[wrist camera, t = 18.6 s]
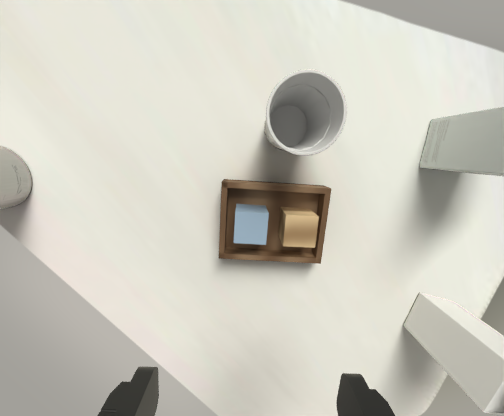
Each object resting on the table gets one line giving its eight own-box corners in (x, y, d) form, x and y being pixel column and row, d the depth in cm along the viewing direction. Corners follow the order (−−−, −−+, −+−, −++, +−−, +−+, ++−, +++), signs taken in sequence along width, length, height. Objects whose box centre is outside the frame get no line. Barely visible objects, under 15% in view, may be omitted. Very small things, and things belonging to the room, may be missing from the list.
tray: (221, 249, 39) (218, 258, 35) (223, 179, 36) (221, 181, 33) (314, 254, 39) (320, 263, 36) (323, 185, 37) (331, 188, 34)
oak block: (280, 206, 37) (286, 214, 32) (309, 208, 37) (318, 216, 32) (278, 234, 38) (283, 246, 33) (305, 235, 38) (314, 247, 33)
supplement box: (417, 168, 37) (504, 175, 24) (430, 118, 35) (530, 98, 23) (462, 173, 37) (570, 182, 25) (477, 124, 35) (600, 108, 23)
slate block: (236, 203, 36) (235, 211, 31) (265, 205, 36) (268, 213, 32) (235, 231, 37) (233, 243, 32) (263, 233, 37) (266, 244, 33)
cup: (309, 94, 34) (343, 61, 22) (315, 150, 36) (350, 148, 24) (254, 103, 34) (259, 77, 22) (263, 159, 36) (272, 161, 24)
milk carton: (436, 333, 44) (578, 465, 25) (402, 325, 43) (521, 454, 24) (454, 300, 42) (618, 415, 24) (418, 291, 42) (558, 401, 23)
